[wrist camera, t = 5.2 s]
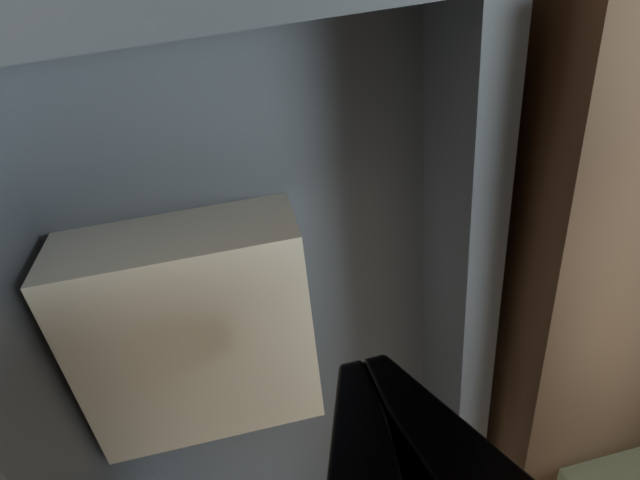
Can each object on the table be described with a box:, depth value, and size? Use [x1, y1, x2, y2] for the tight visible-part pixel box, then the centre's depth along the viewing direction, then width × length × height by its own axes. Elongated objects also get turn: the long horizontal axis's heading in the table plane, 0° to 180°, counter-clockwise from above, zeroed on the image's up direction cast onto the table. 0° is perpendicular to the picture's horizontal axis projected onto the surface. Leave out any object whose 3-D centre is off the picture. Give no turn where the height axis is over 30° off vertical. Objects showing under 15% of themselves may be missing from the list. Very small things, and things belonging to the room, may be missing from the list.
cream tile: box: [20, 192, 325, 465], centre depth 11 cm, size 5×5×2 cm
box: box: [0, 0, 533, 480], centre depth 12 cm, size 10×20×5 cm, turn 6°
